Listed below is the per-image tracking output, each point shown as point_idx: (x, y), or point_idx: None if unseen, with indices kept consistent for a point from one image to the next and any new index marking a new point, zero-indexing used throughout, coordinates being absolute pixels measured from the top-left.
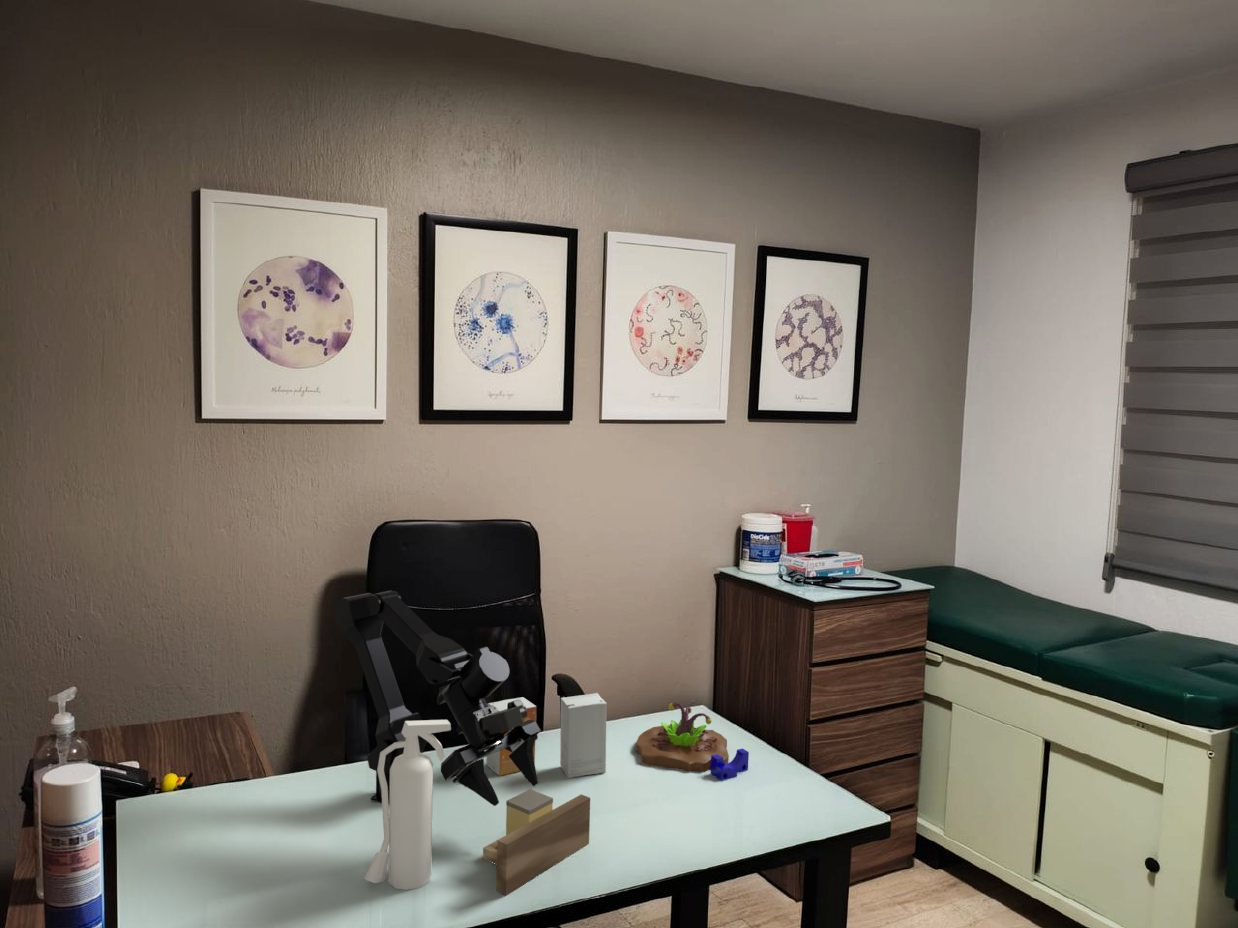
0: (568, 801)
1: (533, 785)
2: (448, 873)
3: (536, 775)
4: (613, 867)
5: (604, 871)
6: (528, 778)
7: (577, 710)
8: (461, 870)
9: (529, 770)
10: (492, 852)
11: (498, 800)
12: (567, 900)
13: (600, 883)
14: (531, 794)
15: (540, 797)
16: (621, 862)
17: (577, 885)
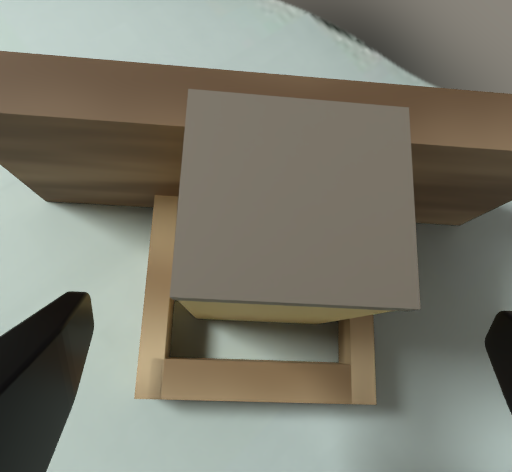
0: (56, 115)
1: (93, 325)
2: (505, 424)
3: (30, 319)
4: (139, 31)
5: (174, 40)
6: (69, 389)
7: None
8: (462, 401)
9: (32, 392)
10: (373, 349)
11: (508, 316)
12: (356, 47)
13: (234, 20)
14: (233, 232)
15: (231, 156)
16: (100, 26)
17: (282, 63)
